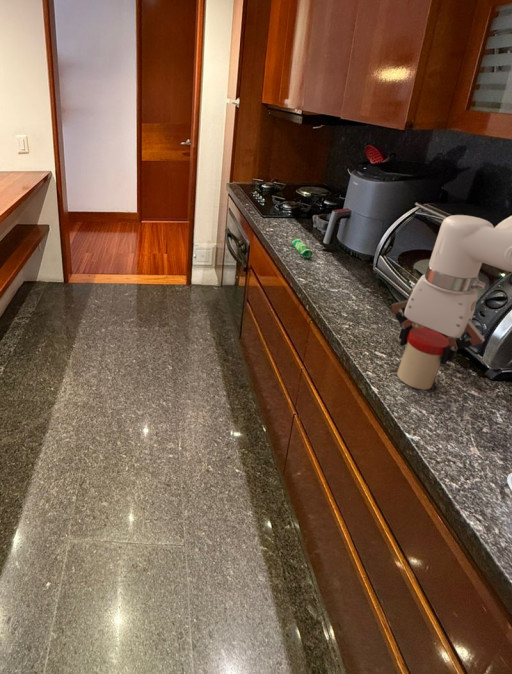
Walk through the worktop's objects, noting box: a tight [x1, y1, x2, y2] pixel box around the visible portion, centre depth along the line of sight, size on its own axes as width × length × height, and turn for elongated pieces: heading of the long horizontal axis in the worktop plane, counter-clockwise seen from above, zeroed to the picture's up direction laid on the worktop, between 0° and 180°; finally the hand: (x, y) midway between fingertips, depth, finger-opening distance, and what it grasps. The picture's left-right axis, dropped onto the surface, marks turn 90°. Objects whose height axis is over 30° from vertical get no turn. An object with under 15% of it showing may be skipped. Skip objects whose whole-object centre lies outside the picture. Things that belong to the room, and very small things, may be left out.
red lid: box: [407, 327, 449, 355], centre depth 81 cm, size 7×7×2 cm
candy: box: [290, 237, 313, 260], centre depth 148 cm, size 12×3×4 cm
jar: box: [396, 341, 443, 390], centre depth 83 cm, size 6×6×11 cm
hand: (423, 351), depth 82 cm, fingers closed on red lid, 6 cm apart
